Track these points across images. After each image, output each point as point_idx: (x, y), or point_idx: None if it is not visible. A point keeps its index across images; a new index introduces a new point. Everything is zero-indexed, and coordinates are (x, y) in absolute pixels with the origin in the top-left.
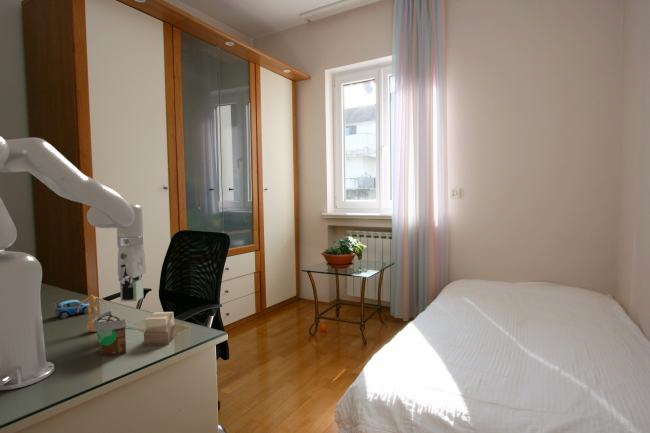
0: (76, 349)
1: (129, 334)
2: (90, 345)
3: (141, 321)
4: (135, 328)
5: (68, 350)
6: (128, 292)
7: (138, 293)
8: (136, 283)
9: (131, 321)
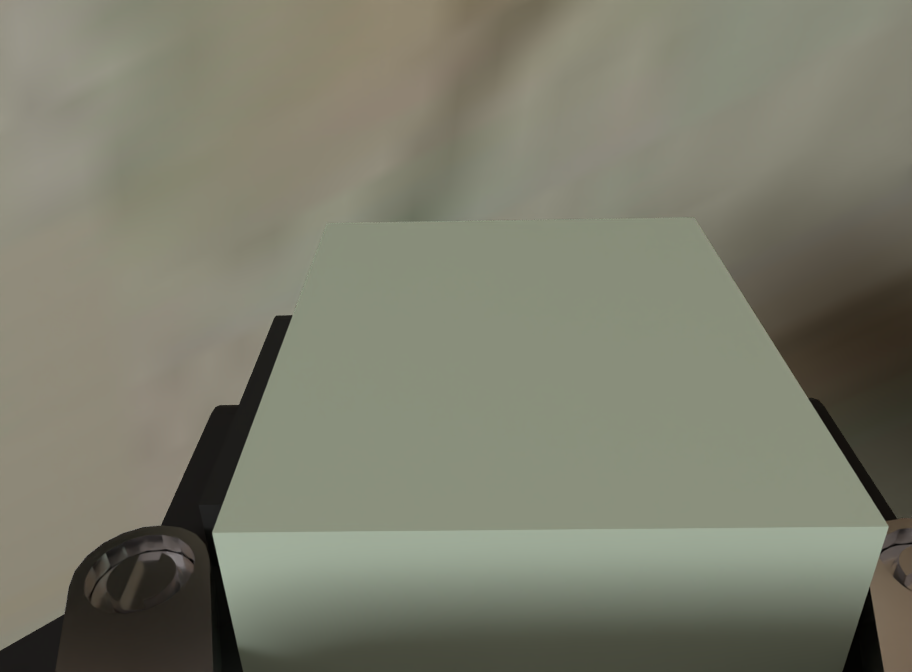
0: (905, 448)
1: (627, 139)
2: (846, 385)
3: (172, 206)
4: (425, 163)
5: (902, 494)
6: (857, 473)
7: (608, 291)
8: (831, 497)
9: (180, 327)
